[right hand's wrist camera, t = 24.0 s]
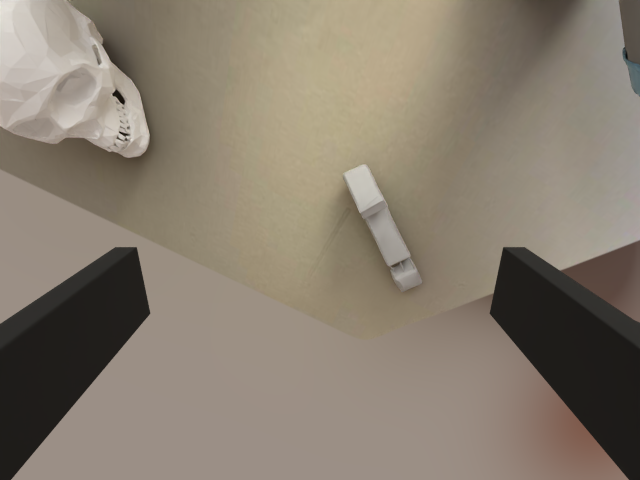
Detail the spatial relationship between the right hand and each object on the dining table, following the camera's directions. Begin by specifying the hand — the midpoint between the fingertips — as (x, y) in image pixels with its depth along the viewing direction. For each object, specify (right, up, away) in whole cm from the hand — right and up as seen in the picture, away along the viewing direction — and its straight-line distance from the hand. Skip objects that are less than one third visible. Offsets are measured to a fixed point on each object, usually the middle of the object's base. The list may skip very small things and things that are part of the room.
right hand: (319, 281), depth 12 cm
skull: (-29, +22, +31) cm, 48 cm away
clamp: (+9, +3, +38) cm, 39 cm away
